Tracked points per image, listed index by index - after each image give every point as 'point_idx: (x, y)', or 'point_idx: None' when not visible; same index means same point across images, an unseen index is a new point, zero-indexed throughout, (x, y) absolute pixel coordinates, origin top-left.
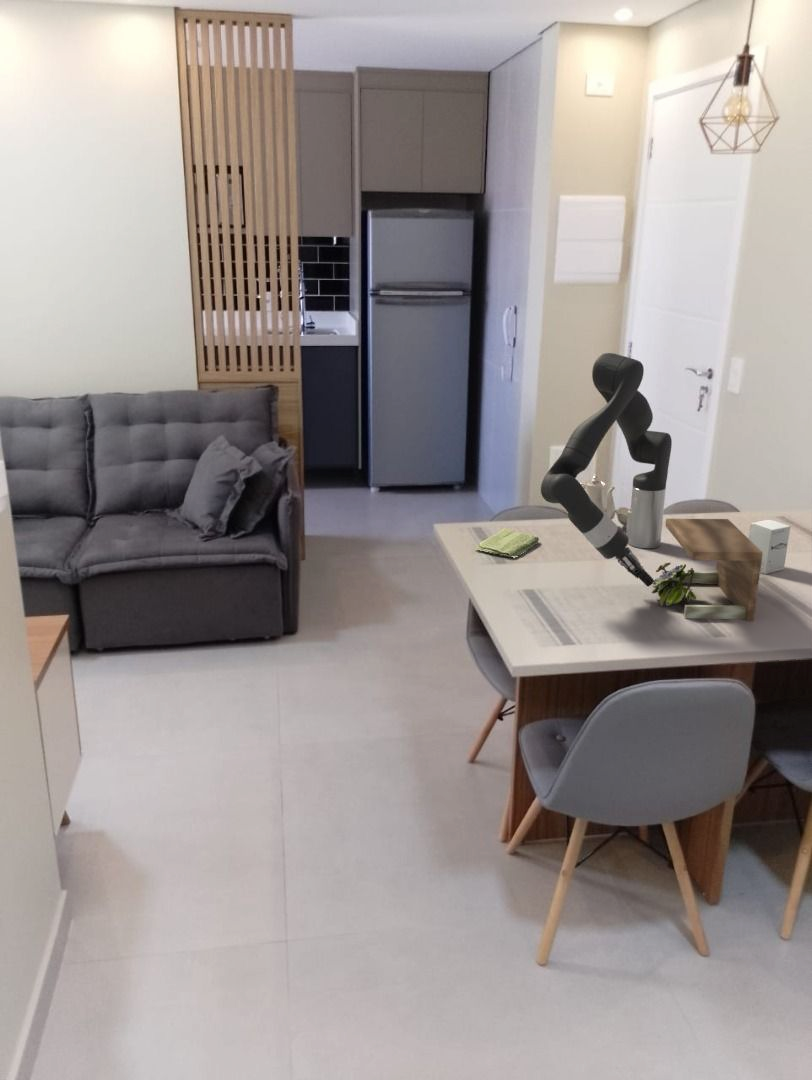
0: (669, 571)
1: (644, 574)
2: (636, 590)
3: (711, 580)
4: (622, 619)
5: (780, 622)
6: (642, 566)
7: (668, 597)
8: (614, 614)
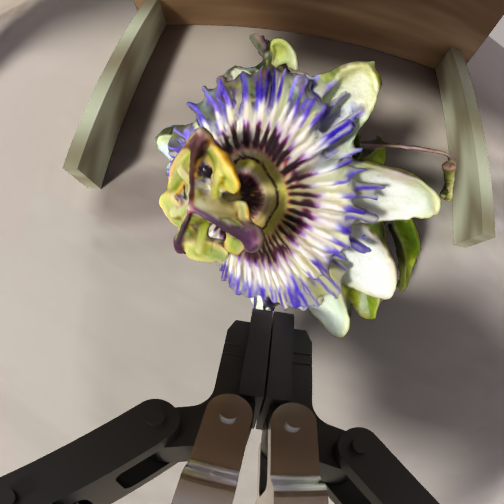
0: (348, 200)
1: (310, 407)
2: (151, 339)
3: (157, 28)
4: (434, 477)
5: None
6: (238, 417)
7: (405, 273)
8: None
